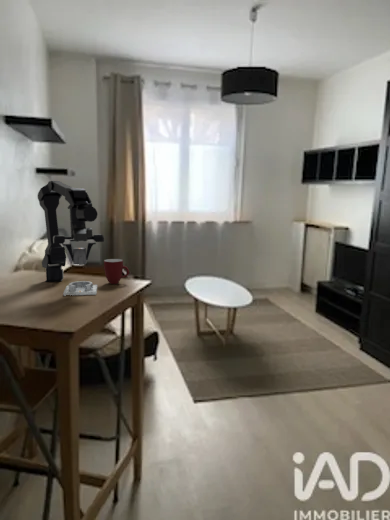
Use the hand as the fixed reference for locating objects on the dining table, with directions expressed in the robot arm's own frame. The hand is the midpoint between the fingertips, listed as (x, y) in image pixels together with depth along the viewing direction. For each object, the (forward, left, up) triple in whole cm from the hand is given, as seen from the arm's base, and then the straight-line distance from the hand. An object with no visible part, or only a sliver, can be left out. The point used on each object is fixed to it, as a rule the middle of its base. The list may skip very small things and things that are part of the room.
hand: (79, 260), depth 159 cm
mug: (+14, +11, -12) cm, 22 cm away
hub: (0, -2, -12) cm, 12 cm away
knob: (0, 0, -1) cm, 1 cm away
